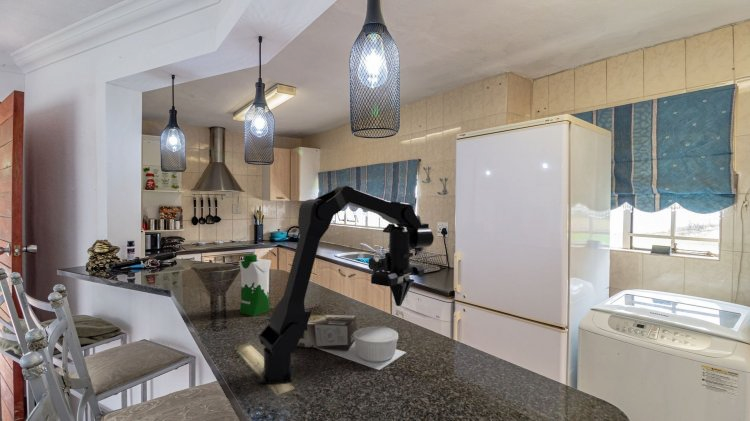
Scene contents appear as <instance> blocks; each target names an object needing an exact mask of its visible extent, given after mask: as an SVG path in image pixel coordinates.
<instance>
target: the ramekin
mask: <svg viewBox="0 0 750 421" xmlns="http://www.w3.org/2000/svg"><path fill="white" fill-rule="evenodd" d="M354 340H355V346H356V351H357V354H358V355H359V357H360V358H362V359H364V360H367V361H373V362H380V361H386V360H388V359H390V358H392V357H393V355H394V354H395V351H396V349H397V343H398V340H399V333H398V331H397V330H395V329H393V328H389V327H386V326H366V327H362V328H359V329H357V331H355V333H354Z"/></svg>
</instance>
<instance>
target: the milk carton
mask: <svg viewBox="0 0 750 421" xmlns="http://www.w3.org/2000/svg"><path fill="white" fill-rule="evenodd" d="M243 258H244V259H242V260H239V261H238V264H239V269H240V274H241V275H240V279H241V280H240V283H241V284H240V287H241V288H240V307H239V309H240V310H239V313H241V314H244V315H247V316H252V317H255V316H258V315H263V314H265V313H269V312H270V311H271V309H270V308H271V306H270V269H271V266H272V260H271V259H264V258H258V255H257V254H253V253H252V254H245V255H243Z"/></svg>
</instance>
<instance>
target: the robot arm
mask: <svg viewBox="0 0 750 421" xmlns="http://www.w3.org/2000/svg"><path fill="white" fill-rule="evenodd" d="M347 205H350V206H352V207H356V208H359V209H361V210H364V211H368V212H371V213H374V214H376V215H378V216H379V217H380V218H381V219H383V220H385V221H386V222H388V223H387V224H388V225H386V227H384V228H383V229H382V233H385V234H386V233H387V234H389V236H388V238H389V240H388V244H389V245H388V246H389V247H388V251H387V252H386V253H384V257H383V258H378V257H377V256H375V257H370V258H368V267H367V268H368V269H369V270H371V271H372V274H371V275H370V284H373V285H378V286H383V287H389V288H390V291H391V293H392V296H393V300H394V304H395V305H396V306H397V307H401V306H402V304H403V303H404V300H405V298H406V296H407V293H408V292H409V290H410V289H411V287H412V285H413V283H414V282H415V279H413V278H412V279H411V277H410V275H417V277H419V278H421V277H424V276H425V268H424V267H423V266H422V265H419V264H412V263H411V257H414V252H411V249H415V248H428V247H431V246H432V244H433V243H434V239H435V238H434V237H435V236H434V233H433V231H432V229H430V227H429V223H423V222H422V223H421V221H420V220H419V218H418V216H417V214H416V213H415V210H414V206H413V205H412V204H411V203H407V202H399V201H389V200H386V199H383V198H381V197H378V196H374V195H373V194H369V193H367V192H364V191H361V190H359V189H355V188H353V187H352V186H350V185H341V186H337V187H336V188H334V189H332V190H331V191H329V192H326V193H324V194H322V195H320V196H318V197H316V198H314V199H312V198H310V199H307V200H305V201H303V202H302V203H301V204H300V206H299V210H298V218H297V221H298V222H297V223H298V224H297V225H298V231H299V233H298V235H299V237H298V240H297V244H296V247H295V248H296V249H295V251H294V256H293V259H292V264H291V267H290V271H289V275H288V279H287V283H286V286H285V290H284V294H283V297H282V298H281V299H280V301H279V302H278V303H277V305H276V306H275V307H274V310H273V312H272V314H271V317H270V319H269V322H268V324H267V325H266V327H265V328H264V329H263V330H262V331H261V333H259V335H258V337H257V338H258V339H259V342H260V344H261V345H262V346H264V348H263V371H262V374H261V376H260V380H259V384H260V385H262V384H263V385H264V384H280V383H282V384H283V383H290V382H293V381H292V380H293V375H294V368H295V367H294V366H293V365H292V354H293V353H296V351H297V348H298V347H297V345H298V342H299V339H301V338H302V336H303V334H304V331H305V330H306V331H307V330H308V329H307V324H308V321H309V318H310V315H311V314H312V312H311V311H310V310H308V309H307V308H306V306H305V299H306V296H307V291H308V288H309V284H310V280H311V277H312V272H313V268H314V264H315V260H316V256H317V252H318V249H319V248H318V247H319V245H320V241H321V239H322V238H323V236H324V235H325V233H326V232H327V231H328V230H329V228H330V225H331V223H332V221H333V218H334V216H336V215H337V214H338V213H339V212H341V211H342V210H343V209H344V207H346V206H347Z"/></svg>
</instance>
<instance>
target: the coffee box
mask: <svg viewBox="0 0 750 421" xmlns="http://www.w3.org/2000/svg"><path fill="white" fill-rule="evenodd" d="M307 329H308V330H307V331H306V330H305V331H304V334H303V336H302V338H301V339H299V342H298V345H297V348H298V347H299V348H315V349H317V348H327V349H342V350H349V348H350V347H351V345H352V344H353V343H354V341H355V340H354V333H355V331H357V330H358V329H357V316H356V315H344V314H342V315H341V314H314V313H313V314H312V313H311V315H310V318H309V321H308V324H307Z"/></svg>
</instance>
